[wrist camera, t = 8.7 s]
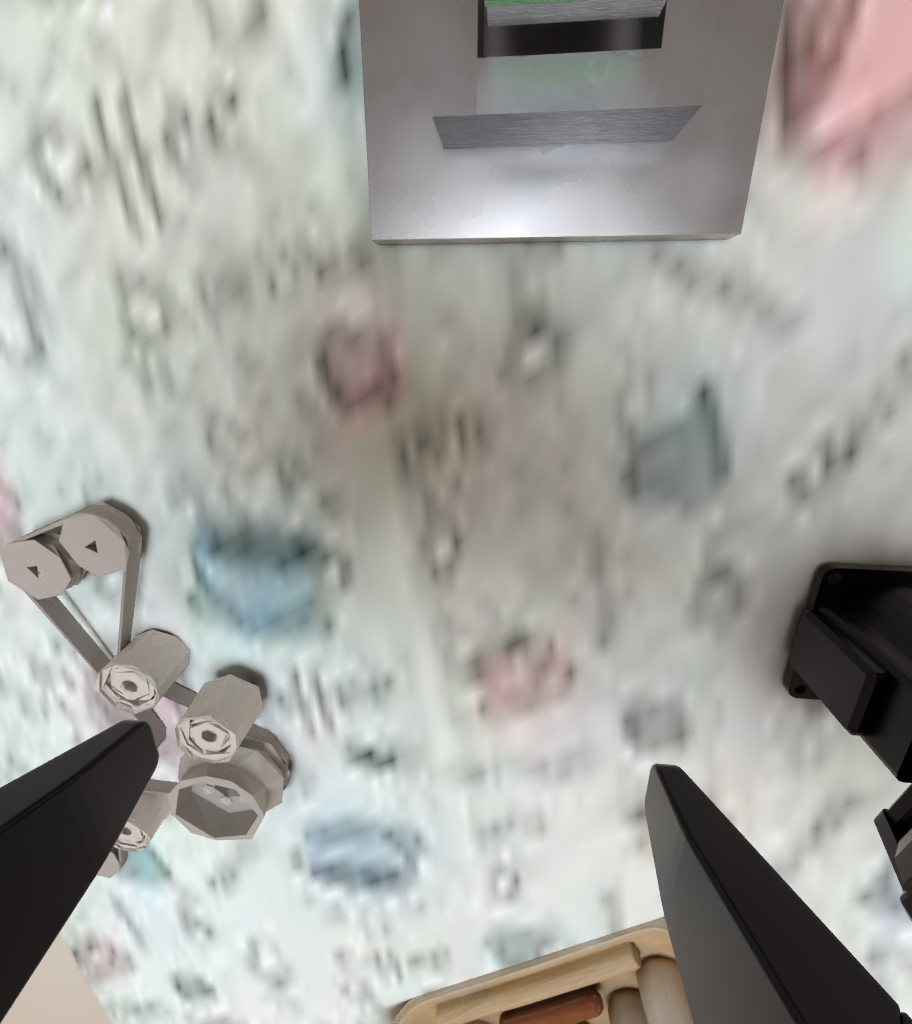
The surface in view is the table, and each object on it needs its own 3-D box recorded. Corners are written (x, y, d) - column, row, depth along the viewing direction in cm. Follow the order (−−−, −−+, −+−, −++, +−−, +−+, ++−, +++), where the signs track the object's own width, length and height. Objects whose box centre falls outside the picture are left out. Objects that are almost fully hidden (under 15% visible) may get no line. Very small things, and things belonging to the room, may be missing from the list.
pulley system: (348, 561, 23) (34, 468, 22) (317, 620, 19) (-75, 508, 18) (269, 879, 34) (56, 827, 33) (238, 962, 30) (-8, 905, 29)
